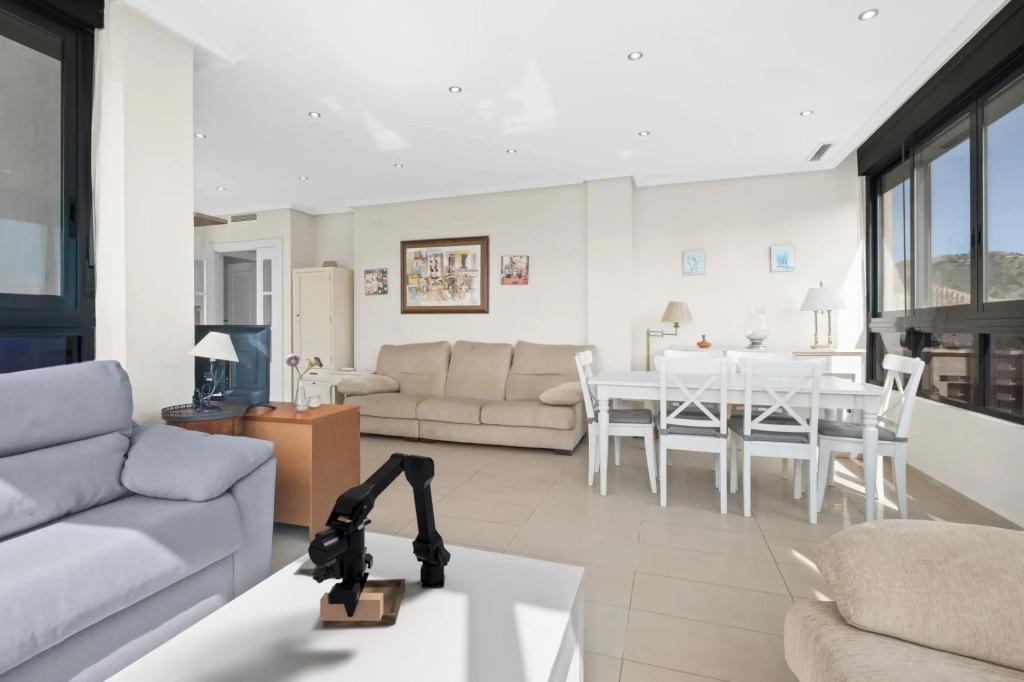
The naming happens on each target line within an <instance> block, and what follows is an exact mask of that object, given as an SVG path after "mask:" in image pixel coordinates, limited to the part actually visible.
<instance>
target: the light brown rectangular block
mask: <svg viewBox="0 0 1024 682" xmlns="http://www.w3.org/2000/svg"><path fill="white" fill-rule="evenodd" d="M328 594H329V592H324V594H322V596H321V598H320V599H319V601H320V602H319V603H320V604H319V605H320V607H319V611H320V614H319V618H320V619H319V620H320V621H322V622H323V621H380V619H381V617H382V615H383V593H361V596H360V598H359V601H358V604H357V606H356V609H355V612H354V615H353V617H348V616H347V613H346V610H345V607H344V604H329V603H328Z"/></svg>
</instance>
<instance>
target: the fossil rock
mask: <svg viewBox="0 0 1024 682" xmlns="http://www.w3.org/2000/svg"><path fill="white" fill-rule="evenodd" d="M315 567H316V565H315V564H314V563H313V562H312V561H311V559H310V557H309V558H308V559H307V560H306V561H304V562H303V563H302V564H301V565H300V567H299V568H298V569H299V571H298V573H300V572H302V574H307V573H308V574H307V575H313V570H314V568H315ZM333 578H335V576H334V577H333Z"/></svg>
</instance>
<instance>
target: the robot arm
mask: <svg viewBox="0 0 1024 682" xmlns="http://www.w3.org/2000/svg"><path fill="white" fill-rule="evenodd" d="M435 468H436V467H435V461H434V459H433V458H432V457H429V456H424V455H417V454H409V453H401V452H393V453H392V454H391V455H390V456H389V458H388V459H387V460H386V461H385V462H383V464H382V465H381V466H379V468H378V469H377V470H375V472H373V473H372V474H371V475H370V476H369V477H368V478H367V479H365V481H363V483H361V484H358V485H357V486H354V487H351V488H349V489H347V490H346V491H344V492H343V493H341V494H340V495H339V496H337V499H336V500H335V504H334V505H333V508H332V510H331V512H330V514H329V516H328V518H327V520H326V522H325V525H324V526H325V527H326V528H327V529H325V530H323V531H319V532H317V533H315V534H314V539H312V540H311V541H310V543H309V547H308V548H307V551H308V552H307V553H308V557H309V558H310V559H311V561H312V562H313V563H314V564H315V565H316V567H315V568H314V570H313V574H312V575H313V576H312V580H313V581H315V582H316V583H317V584H322V583H323V582H324V581H327V580H330V579H333V578H334V579H335V581H336V580H337V581H338V580H341V582H336V583H335V584H334V585H333V586H332V587H331V589H330V591H329V592H328V593H329V594H328V603H329V604H344V607H345V610H346V613H347V616H348V617H353V615H354V612H355V609H356V606H357V604H358V601H359V598H360V596H361V593H362V592H363V589H364V586H365V584H366V581H367V580H368V578H369V575H370V573H369V572H366V570H367V568H368V569H369V570H370V569H372V567H373V565H374V556H373V555H372V554H371V553H367V551H368V546H366V532H365V530H366V527H365V526H368V525H369V524H372V519H370V518H368V515H369V514H370V513H371V511H372V510H373V509H374V508H375V503H376V500H377V498H378V496H380V495H381V494H382V493H383V492H384V491H385V490H386V489H387V487H389V486H390V485H391V484H392V483H393V482H394V481H395V480H396V479H397V478H398V477H399V476H400V475H401V474H402V473H404V477H405V479H406V481H407V482H408V484H409V485H410V487H412V492H413V499H414V500H413V501H414V508H415V516H416V522H417V523H416V525H417V530H418V533H417V535H416V537H415V539H414V540H413V541H412V543H411V545H412V548H413V549H412V550H413V551H412V553H413V554H414V556H415V557H416V561H417V562H419V563H422V564H421V565H420V570H419V571H420V575H419V576H420V577H419V580H420V581H419V582H420V583H421V588H422V589H424V588H427V589H428V588H443V587H445V581H446V580H445V579H446V574H445V567H447V566H448V563H449V562H450V560H451V556H452V555H451V553H450V552H449V551H448V550H447V549H446V547H445V544H444V540H443V537H442V536H441V534H440V533H439V532H438V531H437V529H436V522H435V513H434V505H433V504H434V503H433V497H432V496H433V495H432V488H431V487H432V486H431V483H432V481H433V479H434V477H435ZM339 518H340V519H344V520H347V521H344V520H340V519H339ZM334 576H335V577H334Z"/></svg>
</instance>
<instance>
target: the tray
mask: <svg viewBox="0 0 1024 682" xmlns="http://www.w3.org/2000/svg"><path fill="white" fill-rule="evenodd" d="M405 588H406V578H388V579H387V578H383V579H367V581H366V584H365V586H364V589H363V592H362V593H383V615H382V617H381V619H380V621H322V628H331V627H332V628H334V627H336V628H337V627H358V626H381V625H396V623H397V620H398V616H399V612H400V609H401V604H402V600H403V596H404V593H405V590H406V589H405Z"/></svg>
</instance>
